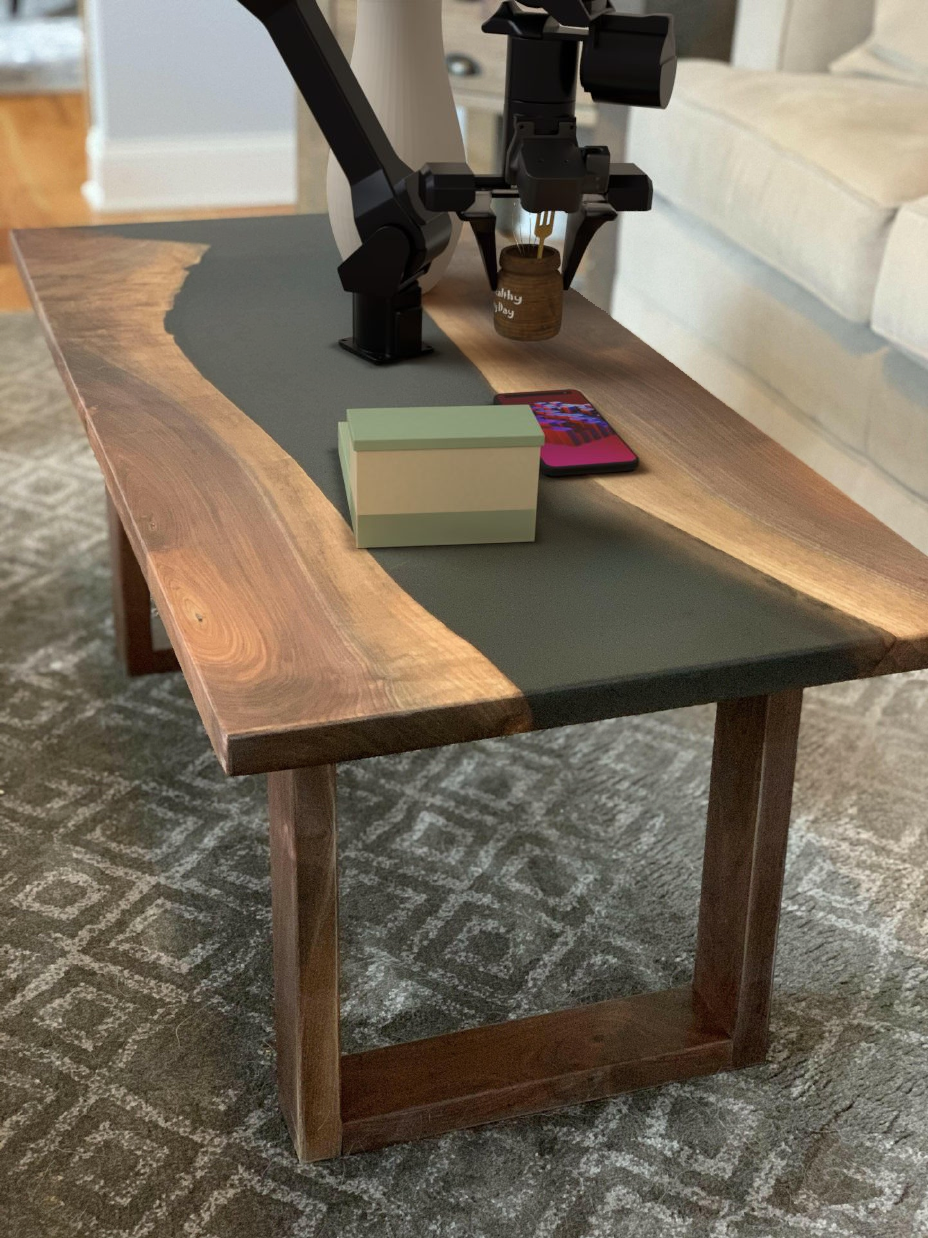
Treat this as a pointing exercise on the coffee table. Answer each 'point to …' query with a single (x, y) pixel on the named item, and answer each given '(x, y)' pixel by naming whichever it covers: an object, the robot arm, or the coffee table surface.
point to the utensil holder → (529, 287)
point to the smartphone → (573, 434)
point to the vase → (401, 106)
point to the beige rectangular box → (441, 474)
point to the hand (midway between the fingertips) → (528, 289)
